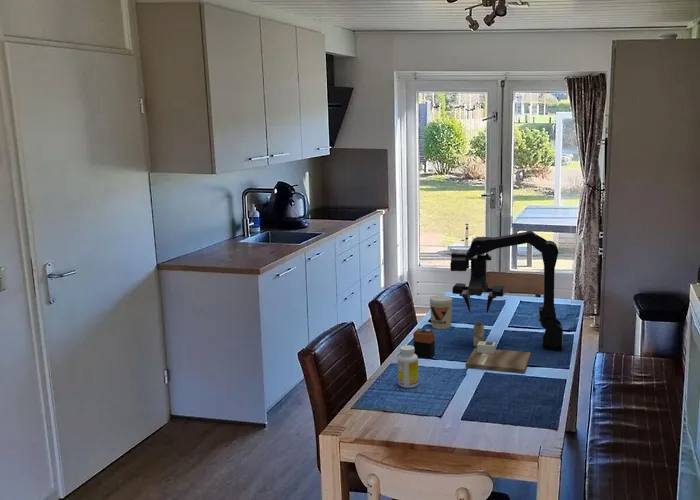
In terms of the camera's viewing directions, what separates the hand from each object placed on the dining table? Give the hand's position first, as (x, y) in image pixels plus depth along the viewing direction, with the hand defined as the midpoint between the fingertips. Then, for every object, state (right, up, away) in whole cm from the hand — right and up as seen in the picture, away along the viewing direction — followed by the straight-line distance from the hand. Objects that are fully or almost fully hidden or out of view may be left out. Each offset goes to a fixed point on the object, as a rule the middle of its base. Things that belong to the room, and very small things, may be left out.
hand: (478, 311), depth 264 cm
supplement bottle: (-29, -21, -32) cm, 48 cm away
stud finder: (+1, -13, -10) cm, 17 cm away
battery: (-21, -16, -6) cm, 27 cm away
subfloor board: (+4, -16, -16) cm, 23 cm away
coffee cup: (-10, -8, +27) cm, 30 cm away
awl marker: (+1, -13, +3) cm, 13 cm away
